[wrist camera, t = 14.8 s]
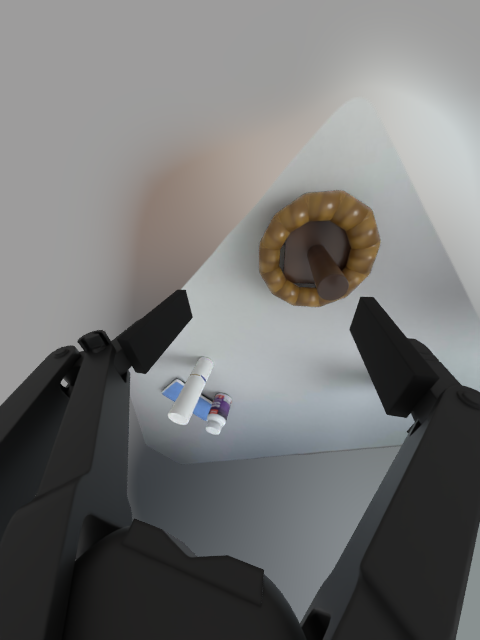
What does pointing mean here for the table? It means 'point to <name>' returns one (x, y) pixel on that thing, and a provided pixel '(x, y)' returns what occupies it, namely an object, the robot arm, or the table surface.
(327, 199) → the ring
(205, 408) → the tablet
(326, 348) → the table surface
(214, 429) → the pill bottle
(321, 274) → the post
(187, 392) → the tube
